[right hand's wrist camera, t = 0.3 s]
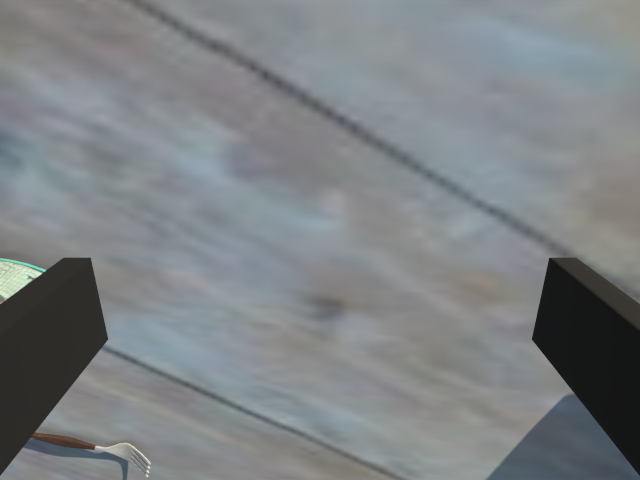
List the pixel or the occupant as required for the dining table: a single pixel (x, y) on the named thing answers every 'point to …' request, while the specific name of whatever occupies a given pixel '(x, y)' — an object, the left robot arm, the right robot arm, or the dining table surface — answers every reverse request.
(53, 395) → the right robot arm
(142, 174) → the dining table surface
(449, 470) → the dining table surface
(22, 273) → the shoe
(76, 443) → the fork
